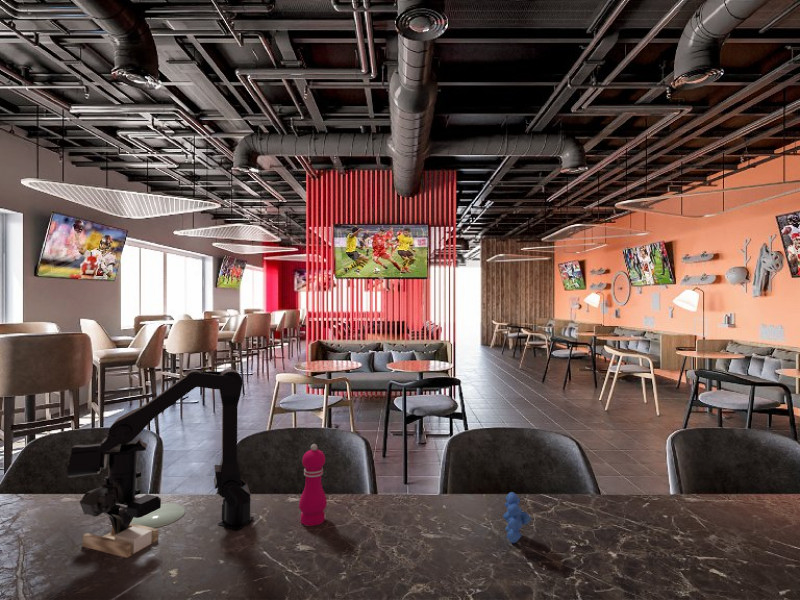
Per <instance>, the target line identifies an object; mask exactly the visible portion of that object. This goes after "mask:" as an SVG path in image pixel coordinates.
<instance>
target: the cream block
mask: <svg viewBox="0 0 800 600" xmlns="http://www.w3.org/2000/svg"><path fill="white" fill-rule="evenodd" d="M151 537H152V531H151V530H147V529H143V528H138V527H134V526H132V527H130V528H128V529H126V530H124V531H122V532H120V533H118V534H116V535H115V540H118V541H122V542H127V543H131V544H132V545H131V553H135V552H136V553H138V552H140V551H142V550H144V549H145V548H147V547H148V545H149V546H151V545H152V544H151ZM146 546H147V547H146ZM144 547H145V548H144ZM141 549H142V550H141ZM139 550H140V551H139ZM137 551H138V552H137ZM136 553H135V554H136Z"/></svg>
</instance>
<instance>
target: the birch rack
mask: <svg viewBox="0 0 800 600" xmlns="http://www.w3.org/2000/svg"><path fill="white" fill-rule="evenodd" d="M132 526H134V527H138V528H143V529H147V530H151V531H152V537H151V544H150V545H152V544H154V543H155V542H158V541H159V528H151V527H146V526H142V525H137V524H133V523H130V525H129V527H128V528H130V527H132ZM81 545H82V547H83V548H88V549H92V550H96V551H99V552H103V553H107V554H111V555H115V556H119V557H123V558H129V557H131V556H133V555H135V554H137V553H138V552H140V551H142V550H143V549H145V548H147V547H148V546H150V545H148V546H146V547H144V548H143V549H141V550H139V551H137V552H135V553H131V545H132V544H131V543H127V542H122V541H118V540H115V532H114V529H113V526H112V525H111V531H110V532H108V533H107V534H104V535H103V536H101V535H97V534H93V533H89V532H86V533H84V534H82V544H81Z"/></svg>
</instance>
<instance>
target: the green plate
mask: <svg viewBox="0 0 800 600" xmlns="http://www.w3.org/2000/svg"><path fill="white" fill-rule="evenodd" d="M185 514H186V507H185V506H183V505H182V504H178V503H161V508H159V509H157V510H155V511H153V512H151V513H149V514H147V515H145V516H143V517H140V518H135V517H133V519H132V521H131V523H133V524H137V525H142V526H146V527H151V528H155V529H158V528H160V527H165V526H167V525H170V524H172V523H174V522H176V521H178V520H180V519H181V518H182V517H183V516H184V515H185Z"/></svg>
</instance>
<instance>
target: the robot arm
mask: <svg viewBox="0 0 800 600" xmlns="http://www.w3.org/2000/svg"><path fill="white" fill-rule="evenodd" d="M243 383H244V381H243V377H242V375H241V374H240V373H239V372H238V371H237V370H235V369H233V368H227V369H224V370H223V371H215V370H214V371H213V370H212V371H211V370H198V369H192V370H190V371H189V372H188V373H186V375H184V376H183V377H182V378H180V379H178V380H177V381H176V382H175V383H173V384H172V385H171V386H169V387H168V388H167V389H165V390H164V391H161V393H159V394H158V395H157V396H155V397H154V398H153V399H151V400H150V401H147V403H145V404H144V405H141V406H139V407H137V408H135V409H132V410H131V411H129V412H126V413H125V414H123V415H121V416H119V417H118V418H117V419H115V421H114V422H113V423H112V424H111V425H110V427H109V428H108V429H109V430H108V436H107V437H104V438H103V440H102V441H101V442H100V443H94V444H93V443H92V444H75V445H73V446H72V447H71V453H70V456H69V460H68V463H67V470H66V473H67V476H68V478H73V477H74V478H75V477H82V476H90V475H99V474H100V473H101V470H102V469H104V470H105V469H106V467H107V463H108V472H107V473H108V474H107V476H104V477H103V479H102V481H101V486H100V487H97V488H94V489H91V490H89V491H86V492H85V493H84V495H83V496H82V498H81V499H80V501H79V504H80V505H79V506H81V510H82V512H83V515H86V516H92V517H98V516H101V515H102V514H103V515H105V516H107V517H108V518H109V521H110V523H111V527H112V526H113V529H114V532H115V535H116V534H118V533H120V532H122V531H124V530H126V529H128V527H129V525H130V523H131V521H132V519H133V517H135V518H140V517H143V516H145V515H147V514H149V513H151V512H153V511H155V510H157V509H159V508H161V504H162V498H161V497H159V496H158V495H153V494H148V493H147V494H145V495H141V496H140V497H139V495H140V494H141V489H139V488H137V481H138V478H140V477H142V472H141V471H138V459H139V457H138V456H139V455H138V453H139V452H143V451H146V449H147V447H148V444H147V443H146V442H145V441H143V440H142V438H138V439H137V440H136V441H135V442H132V441H133V440H134V439H135V438H136V437H138V435H139V434H140V433H141V432H143V430H144V429H145V428H146V427H147V426H148V425H149V424H150V423H151V422H153V420H154V419H155V418H156V417H157V416H159V415H161V413H163V412H164V411H166V410H167V409H168V408H170V407H171V406H172V405H174V404H175V403H176V402H179V400H180V399H182V398H183V397H185V396H186V395H187V394H188V393H191V391H193V390H194V389H196V388H205V389H211V390H218V391H219V397H220V400H221V401H220V402H221V405H222V407H221V459H220V462H219V464H215V465H214V474H215V476H214V479H213V483H214V489H215V490H216V489H217V492H218V495H219V496H220V497H221V498H223V499H222V504H221V521H220V522H218V523H217V526H219V527H223V528H225V529H226V528H227V529H231V530H237V531H239V530H240V529H242V528H244V527H245V526H247V525H248V524H249V523H251V522H252V521H254V520H255V517H254V516H251V492H250V489H249V486H248V483H247V482H246V481H244V479H242V476H241V471H240V467H239V462H238V406H239V402H240V398H241V394H242V388H243V385H244V384H243ZM119 445H120V446H119ZM117 446H118V447H117ZM107 461H108V462H107ZM253 519H254V520H253ZM251 520H252V521H251ZM250 521H251V522H250Z"/></svg>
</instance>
